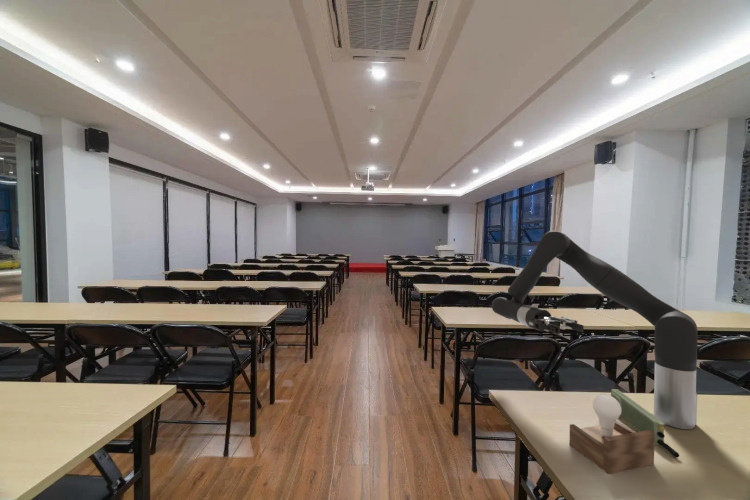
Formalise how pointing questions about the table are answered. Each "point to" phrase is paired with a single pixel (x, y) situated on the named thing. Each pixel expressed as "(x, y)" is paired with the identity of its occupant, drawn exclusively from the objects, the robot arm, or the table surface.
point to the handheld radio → (642, 419)
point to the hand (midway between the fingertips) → (571, 329)
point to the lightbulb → (606, 413)
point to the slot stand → (614, 447)
